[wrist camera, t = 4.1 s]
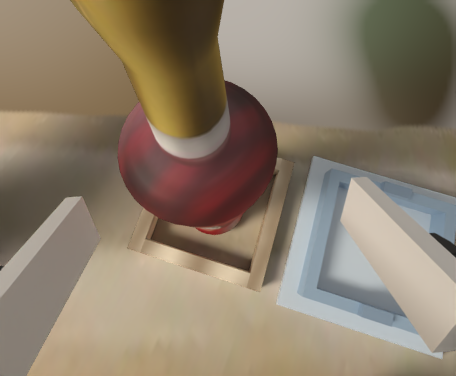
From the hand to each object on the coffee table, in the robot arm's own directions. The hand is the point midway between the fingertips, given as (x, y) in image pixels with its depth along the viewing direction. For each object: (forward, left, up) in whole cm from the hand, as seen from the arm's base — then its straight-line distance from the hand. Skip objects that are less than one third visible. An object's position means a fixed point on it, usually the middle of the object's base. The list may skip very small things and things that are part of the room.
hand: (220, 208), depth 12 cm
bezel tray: (+13, +11, -17) cm, 24 cm away
